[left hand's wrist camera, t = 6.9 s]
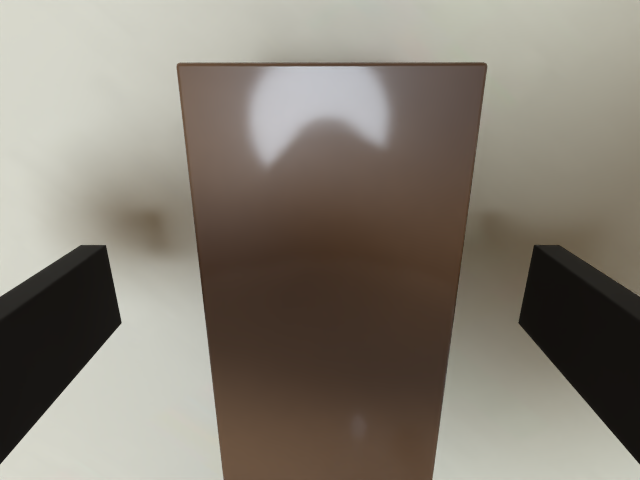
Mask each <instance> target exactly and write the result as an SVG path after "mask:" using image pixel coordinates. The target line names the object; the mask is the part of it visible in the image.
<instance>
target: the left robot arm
mask: <svg viewBox="0 0 640 480" xmlns="http://www.w3.org/2000/svg"><path fill="white" fill-rule="evenodd" d="M518 323H519V324H520V325H521V327H522V328H523V329H524V330H525V331H526V332H527V334H528V335H529V336H530V337H531V338H532V339H533V340H534V342H535V343H536V344H537V345H538V346H539V347H540V349H541V350H542V351H543V352H544V353H545V354H546V356H547V357H548V358H549V359H550V360H551V361H552V363H553V364H554V365H555V366H556V367H557V368H558V370H559V371H560V372H561V373H562V374H563V375H564V377H565V378H566V379H567V380H568V381H569V382H570V384H571V385H572V386H573V387H574V388H575V389H576V391H577V392H578V393H579V394H580V395H581V396H582V398H583V399H584V400H585V401H586V402H587V403H588V405H589V406H590V407H591V408H592V409H593V410H594V412H595V413H596V414H597V415H598V416H599V417H600V419H601V420H602V421H603V422H604V423H605V424H606V425H607V427H608V428H609V429H610V430H611V431H612V432H613V434H614V435H615V436H616V437H617V438H618V439H619V441H620V442H621V443H622V444H623V445H624V446H625V448H626V449H627V450H628V451H629V452H630V453H631V455H632V456H633V457H634V458H635V459H636V460H637V462H638V463H639V464H640V297H639V296H638V295H636V294H634V293H633V292H631V291H630V290H628V289H627V288H625V287H624V286H622V285H620V284H619V283H617V282H616V281H614V280H613V279H611V278H610V277H608V276H606V275H605V274H603V273H602V272H600V271H599V270H597V269H595V268H594V267H592V266H591V265H589V264H588V263H586V262H585V261H583V260H581V259H580V258H578V257H577V256H575V255H574V254H572V253H571V252H569V251H567V250H566V249H564V248H563V247H561V246H560V245H534V248H533V253H532V258H531V263H530V268H529V273H528V278H527V283H526V288H525V293H524V298H523V303H522V308H521V313H520V318H519V322H518ZM120 324H121V318H120V313H119V308H118V303H117V298H116V293H115V288H114V283H113V278H112V273H111V268H110V263H109V258H108V253H107V248H106V245H80V246H79V247H77V248H76V249H74V250H73V251H71V252H69V253H68V254H66V255H65V256H63V257H62V258H60V259H59V260H57V261H55V262H54V263H52V264H51V265H49V266H48V267H46V268H45V269H43V270H41V271H40V272H38V273H37V274H35V275H34V276H32V277H30V278H29V279H27V280H26V281H24V282H23V283H21V284H20V285H18V286H16V287H15V288H13V289H12V290H10V291H9V292H7V293H6V294H4V295H2V296H1V297H0V464H1V463H2V462H3V460H4V459H5V458H6V457H7V456H8V455H9V453H10V452H11V451H12V450H13V449H14V448H15V446H16V445H17V444H18V443H19V442H20V441H21V439H22V438H23V437H24V436H25V435H26V434H27V432H28V431H29V430H30V429H31V428H32V427H33V425H34V424H35V423H36V422H37V421H38V420H39V419H40V417H41V416H42V415H43V414H44V413H45V412H46V410H47V409H48V408H49V407H50V406H51V405H52V403H53V402H54V401H55V400H56V399H57V398H58V396H59V395H60V394H61V393H62V392H63V391H64V389H65V388H66V387H67V386H68V385H69V384H70V382H71V381H72V380H73V379H74V378H75V377H76V375H77V374H78V373H79V372H80V371H81V370H82V368H83V367H84V366H85V365H86V364H87V363H88V361H89V360H90V359H91V358H92V357H93V356H94V354H95V353H96V352H97V351H98V350H99V349H100V347H101V346H102V345H103V344H104V343H105V342H106V340H107V339H108V338H109V337H110V336H111V335H112V334H113V332H114V331H115V330H116V329H117V328H118V327H119V325H120Z"/></svg>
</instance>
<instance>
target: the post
mask: <svg viewBox="0 0 640 480" xmlns="http://www.w3.org/2000/svg"><path fill="white" fill-rule="evenodd" d="M486 72H487V64H486V63H484V62H410V63H178V64H177V75H178V84H179V92H180V101H181V110H182V119H183V127H184V136H185V145H186V154H187V162H188V171H189V180H190V189H191V198H192V206H193V215H194V224H195V233H196V241H197V250H198V259H199V268H200V276H201V285H202V294H203V303H204V312H205V320H206V329H207V338H208V347H209V355H210V364H211V373H212V382H213V390H214V399H215V408H216V417H217V426H218V434H219V443H220V452H221V461H222V469H223V478H224V480H432V478H433V470H434V463H435V455H436V448H437V440H438V433H439V425H440V418H441V410H442V403H443V395H444V388H445V380H446V373H447V365H448V358H449V350H450V343H451V335H452V328H453V320H454V313H455V305H456V298H457V290H458V283H459V275H460V267H461V260H462V252H463V245H464V237H465V230H466V222H467V215H468V207H469V200H470V192H471V185H472V177H473V170H474V162H475V155H476V147H477V140H478V132H479V125H480V117H481V110H482V102H483V95H484V87H485V80H486Z"/></svg>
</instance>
